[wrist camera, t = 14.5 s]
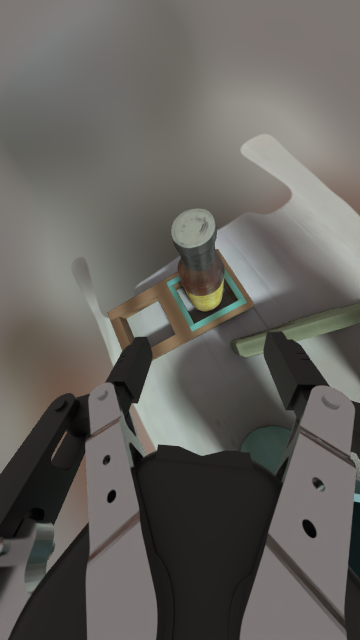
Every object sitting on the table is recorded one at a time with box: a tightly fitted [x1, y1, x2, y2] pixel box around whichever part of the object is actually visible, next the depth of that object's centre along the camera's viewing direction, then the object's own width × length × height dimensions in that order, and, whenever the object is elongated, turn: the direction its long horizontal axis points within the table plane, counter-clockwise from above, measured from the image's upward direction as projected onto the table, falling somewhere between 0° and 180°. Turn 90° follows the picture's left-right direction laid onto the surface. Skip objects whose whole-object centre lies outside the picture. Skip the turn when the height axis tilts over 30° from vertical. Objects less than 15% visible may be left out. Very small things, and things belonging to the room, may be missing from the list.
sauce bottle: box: [171, 208, 225, 312], centre depth 23 cm, size 7×6×20 cm
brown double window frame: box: [108, 249, 255, 360], centre depth 32 cm, size 26×13×3 cm, turn 118°
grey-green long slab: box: [231, 303, 360, 358], centre depth 25 cm, size 7×3×25 cm
